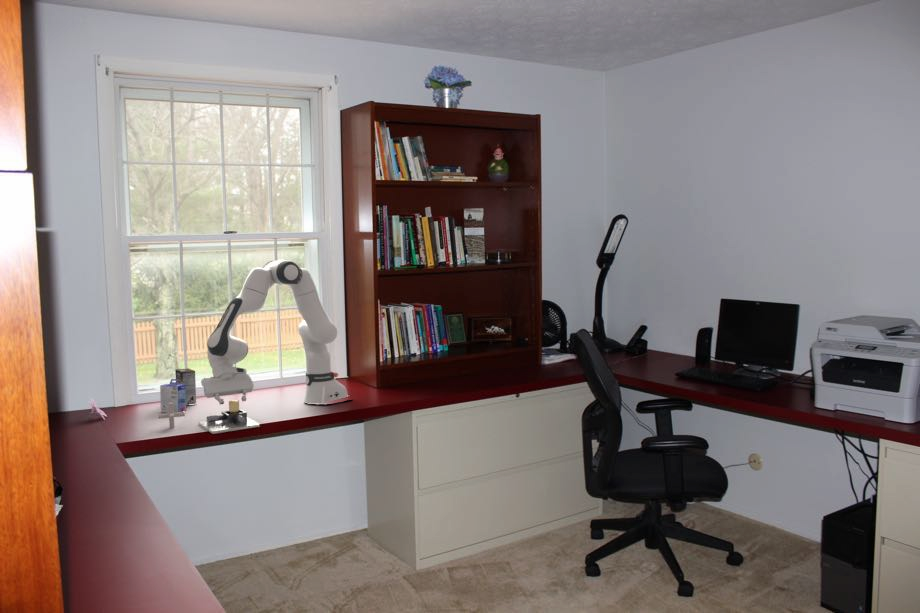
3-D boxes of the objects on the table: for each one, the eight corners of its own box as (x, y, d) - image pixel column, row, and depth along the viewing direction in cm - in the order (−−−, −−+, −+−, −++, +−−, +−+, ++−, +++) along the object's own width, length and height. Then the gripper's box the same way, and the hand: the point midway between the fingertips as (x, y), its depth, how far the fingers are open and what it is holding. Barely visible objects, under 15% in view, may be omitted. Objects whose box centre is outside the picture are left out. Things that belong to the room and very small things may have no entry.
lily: (94, 426, 307) (106, 405, 309) (70, 415, 308) (81, 394, 310) (108, 428, 319) (119, 408, 321) (84, 417, 320) (95, 397, 322)
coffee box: (176, 403, 346) (174, 369, 345) (190, 401, 350) (188, 367, 349) (182, 406, 339) (181, 371, 337) (196, 404, 343) (195, 370, 341)
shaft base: (243, 417, 315) (243, 407, 315) (259, 426, 300) (259, 415, 300) (198, 424, 304) (198, 413, 304) (212, 433, 289) (211, 422, 289)
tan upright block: (237, 418, 310) (237, 399, 309) (240, 420, 307) (240, 401, 306) (228, 420, 308) (227, 401, 307) (231, 421, 304) (230, 402, 304)
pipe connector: (184, 423, 307) (183, 399, 306) (185, 428, 298) (184, 404, 297) (158, 425, 303) (157, 401, 302) (158, 431, 294) (157, 406, 293)
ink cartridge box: (187, 411, 330) (185, 379, 328) (178, 413, 324) (177, 381, 323) (169, 409, 333) (167, 378, 332) (160, 412, 328) (158, 380, 326)
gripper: (201, 373, 307) (209, 401, 299) (249, 368, 318) (258, 394, 311) (198, 383, 311) (206, 409, 303) (246, 377, 322) (255, 402, 315)
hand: (233, 402), depth 307 cm, fingers open, 8 cm apart
